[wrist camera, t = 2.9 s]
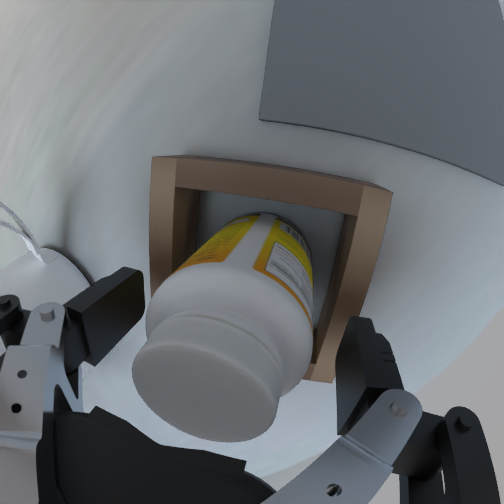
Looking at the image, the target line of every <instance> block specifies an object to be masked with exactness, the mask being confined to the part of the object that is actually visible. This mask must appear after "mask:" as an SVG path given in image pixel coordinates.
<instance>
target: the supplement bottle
mask: <svg viewBox="0 0 504 504" xmlns="http://www.w3.org/2000/svg"><path fill="white" fill-rule="evenodd" d="M146 334H147V339H148V340H147V342H146V343H145V345H144V346H143V347H142V348H141V349H140V351H139V352H138V354H137V355H136V357H135V359H134V362H133V366H132V377H133V381H134V384H135V387H136V389H137V391H138V393H139V395H140V396H141V398H142V399H143V401H144V402H145V403H146V404H147V405H148V407H149V408H150V409H151V410H152V411H153V412H154V413H155V414H157V415H158V416H159V417H160V418H162V419H163V420H164V421H166V422H167V423H169V424H170V425H172V426H174V427H175V428H177V429H179V430H181V431H183V432H185V433H188V434H190V435H193V436H196V437H198V438H202V439H206V440H211V441H217V442H241V441H247V440H251V439H253V438H256V437H258V436H260V435H261V434H263V433H264V432H266V431H267V430H268V429H269V427H270V426H271V425H272V423H273V421H274V419H275V417H276V413H277V408H278V403H279V399H280V397H282V396H284V395H285V394H287V393H288V392H290V391H291V390H292V389H293V388H294V387H295V386H296V385H297V384H298V383H299V382H300V381H301V379H302V378H303V376H304V375H305V373H306V371H307V369H308V367H309V364H310V361H311V357H312V348H313V273H312V256H311V252H310V249H309V246H308V244H307V241H306V240H305V238H304V236H303V235H302V234H301V232H300V231H299V230H298V229H297V228H296V227H295V226H294V225H292V224H291V223H290V222H288V221H287V220H285V219H283V218H281V217H278V216H276V215H272V214H267V213H251V214H246V215H242V216H240V217H238V218H235V219H233V220H232V221H230V222H229V223H227V224H226V225H225V226H224V227H223V228H222V229H220V230H219V231H218V232H217V233H216V234H215V235H214V236H213V237H212V238H211V239H209V240H208V241H207V242H206V243H205V244H204V245H203V246H202V247H201V248H200V249H199V250H197V251H196V252H195V253H194V254H193V255H192V256H191V257H190V258H189V259H188V260H187V261H186V262H184V263H183V264H182V265H181V266H180V267H179V268H178V269H177V270H176V271H175V272H174V273H172V274H171V275H170V276H169V277H168V278H167V279H166V280H165V281H164V282H163V283H162V284H161V286H160V287H159V288H158V289H157V290H156V291H155V293H154V295H153V296H152V299H151V301H150V303H149V306H148V309H147V314H146Z"/></svg>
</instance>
